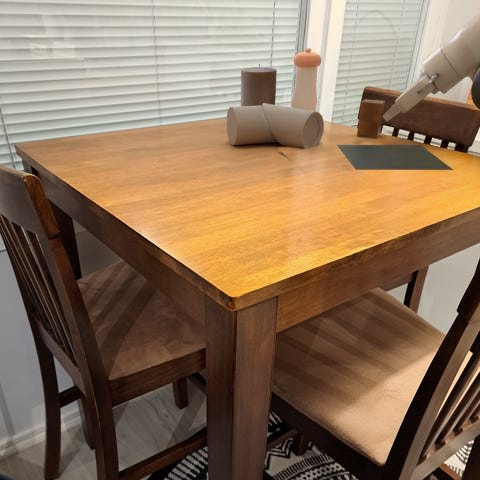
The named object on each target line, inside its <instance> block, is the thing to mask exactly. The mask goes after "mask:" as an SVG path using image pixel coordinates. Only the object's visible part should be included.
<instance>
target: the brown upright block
mask: <svg viewBox="0 0 480 480" xmlns="http://www.w3.org/2000/svg"><path fill="white" fill-rule="evenodd" d="M385 103H386V101H385V100H380V99H366V98H365V99H363V100H362V101H361V103H360V110H359V117H358V123H357V132H356V137H357V138H365V139H366V138H367V139H374V140H376V139H378V138H379V137H380V135H381V129H382V123H383V119H384V118H383V115H384V111H385V105H386V104H385Z"/></svg>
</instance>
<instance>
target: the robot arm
mask: <svg viewBox="0 0 480 480" xmlns="http://www.w3.org/2000/svg"><path fill="white" fill-rule="evenodd" d="M421 65H422V69H420V70H419V71H418V76H417V77H416V78H415V79H414V80H413V81H412V82H411V83H410V84H409V86H408V87H407V88H406V89H405V90H404V91H403V92H402V93H401V94H400V95H399V96H398V97H397V98H396V99H395V101H394V102H395V103H394V104H392V105H391V107H389V109H388V110H387V111H386V112H385V113H383V118H382V119H383V120H384V121H385V122H389V121H390V120H392V119H393V118H394V117H396V116H398V115H399V114H400V113H402V114H406V113H408V112H409V111H410V110H411V109H413V108H414V107H416V106H417V105H418V104H419V103H420V102H422V100H424V99H425V98H426V97H428V96H429V95H430V94H432V95H436V94H438V93H439V92H440V93H442V94H444V95H445V94H446V93H448V92H449V91H450V90H452V89H453V88H454V87H456V85H458V84H459V83H460V82H462V81H463V80H464V79H465V78H467V77H468V78H469V79H470V80H471V82H472V85H471V89H470V96H471V97H470V98H471V101H472V103H473V105H474V106H475V107H476V108H477V109H478V110H479V111H480V13H478V14H476V15H475V16H474V17H473V18H472V19H471V20H469V21H468V22H467V23H465V24H464V25H463V26H462V27H461V28H460V29H458V30H457V32H456V33H455V34H454V36H453V37H452V38H450V39H449V40H448V41H446V42H444V43H442V44H441V45H440V46H438V47H437V48H436V49H435V50H434V51H433V52H432V53H431V54H429V55H428V56H427V57H426V58H424V59H423V60H422V61H421Z"/></svg>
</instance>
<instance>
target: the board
mask: <svg viewBox="0 0 480 480" xmlns="http://www.w3.org/2000/svg"><path fill="white" fill-rule="evenodd" d="M336 147H338V149H339V150H340V152H341V153H342V154H343V155H344V157H345V158H346V160H348V162H349V164H351V166H352V167H353V168H354V169H355V170H356V171H358V170H359V171H381V170H382V171H454V168H452V167H451V166H449V165H448V164H447V163H445V162H444V161H443V160H441V159H440V158H439V157H438V156H436V155H435V154H434V153H432V152H431V151H430V150H428V149H427V148H425V147H424V146H423V145H422V144H336Z"/></svg>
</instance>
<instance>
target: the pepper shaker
mask: <svg viewBox="0 0 480 480" xmlns="http://www.w3.org/2000/svg"><path fill="white" fill-rule="evenodd" d="M293 64H294V66H296V67H295V80H294V81H295V82H294V87H293V88H294V89H293V93H292V98H291V108H296V109H302V110H308V111H314V112H317V106H318V105H317V104H318V91H317V82H318V81H317V80H318V69H319V68H318V67H320V66H321V64H322V56H321V54H319V53H317V52H315V51H312V49H311V48H309V47H306V48H305V49H304V51H300V52H298V53H297V54H295V56H294V59H293Z"/></svg>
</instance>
